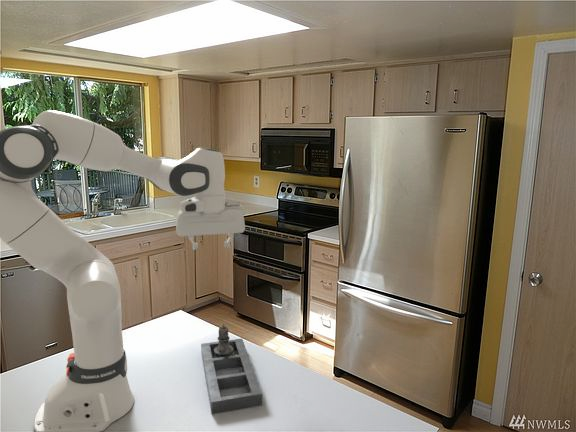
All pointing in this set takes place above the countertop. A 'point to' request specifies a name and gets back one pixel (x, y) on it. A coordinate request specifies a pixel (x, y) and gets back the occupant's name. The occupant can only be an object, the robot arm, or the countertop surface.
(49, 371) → the countertop surface
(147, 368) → the countertop surface
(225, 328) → the grey stone finial
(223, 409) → the grey rectangular frame piece
